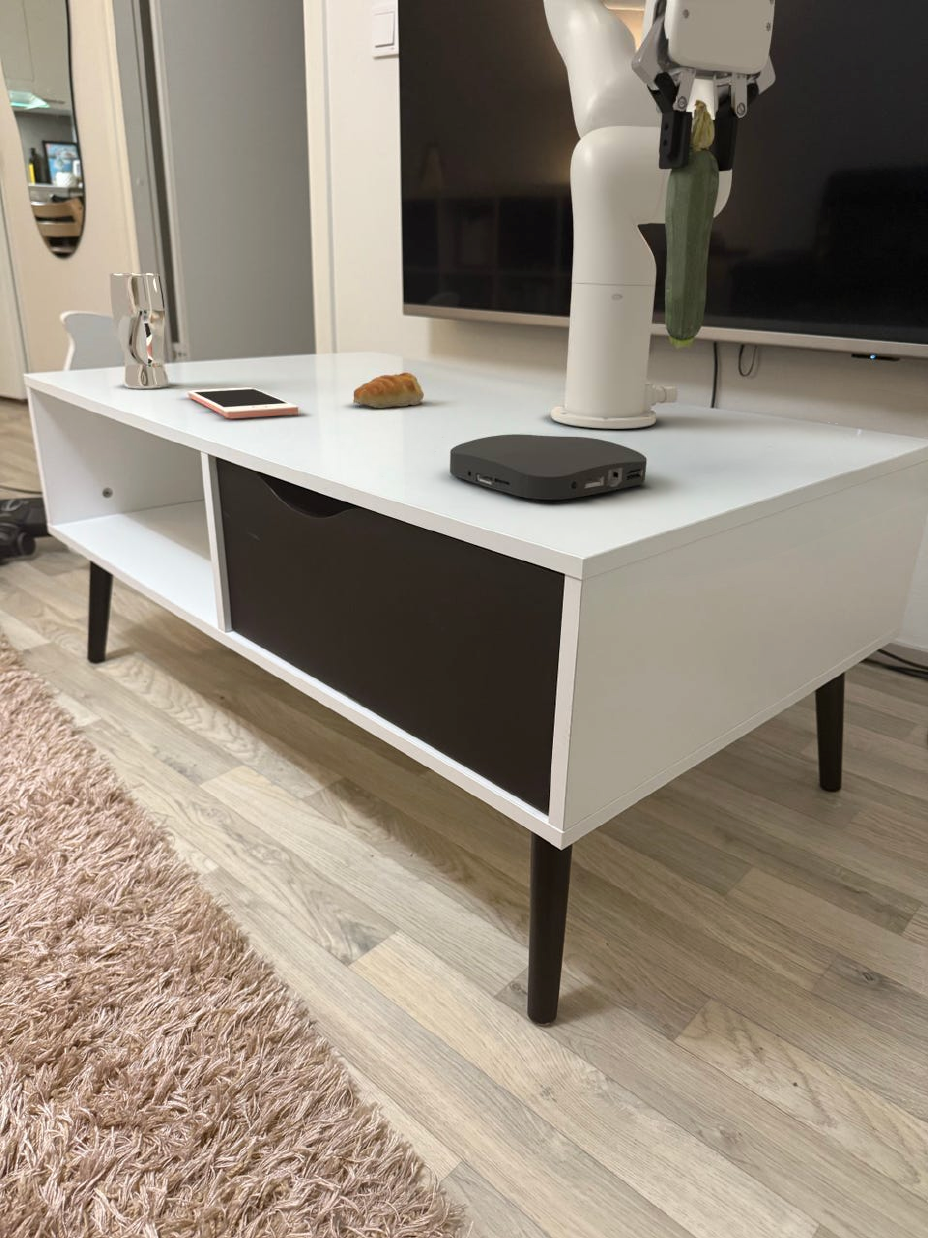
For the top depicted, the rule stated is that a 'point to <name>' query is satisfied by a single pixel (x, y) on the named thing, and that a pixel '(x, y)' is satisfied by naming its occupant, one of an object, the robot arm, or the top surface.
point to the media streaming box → (547, 465)
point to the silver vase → (140, 327)
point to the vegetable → (690, 232)
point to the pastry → (390, 391)
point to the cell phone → (242, 402)
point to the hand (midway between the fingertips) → (695, 167)
